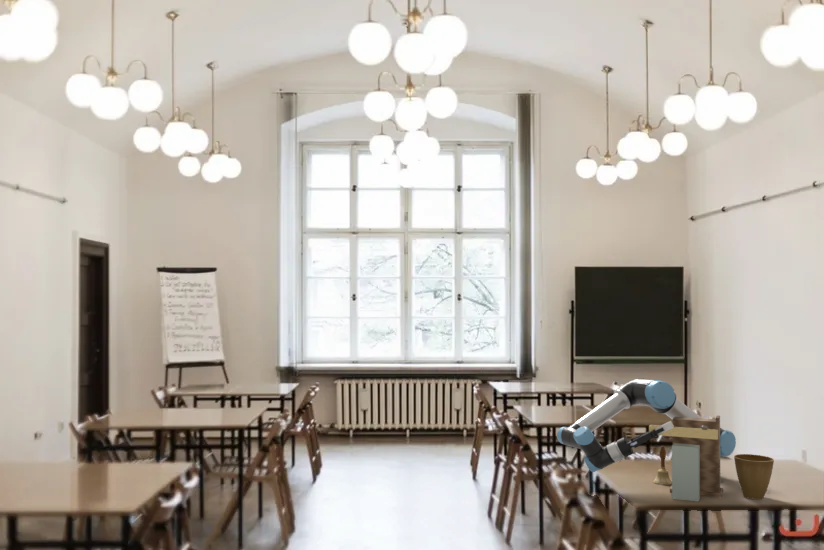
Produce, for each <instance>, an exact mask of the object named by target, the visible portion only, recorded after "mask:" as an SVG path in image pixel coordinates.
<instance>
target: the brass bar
mask: <svg viewBox="0 0 824 550" xmlns="http://www.w3.org/2000/svg"><path fill="white" fill-rule="evenodd" d="M660 426H661V425H658V424H650V425H648V431H649V432H651V431H653V430H655V429H656V428H658V427H660ZM672 427H673V428H672V429H670V430H668V431H666V432H664V433H662V434H660V435H658V434H657V435H658V436H664V437H666V436H667V437H673V436H676V437H689V438H702V439H715V440H717V439H718V430H717V429H707V426H701V428H688V427H674V426H672ZM655 431H656V430H655Z"/></svg>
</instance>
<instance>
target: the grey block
mask: <svg viewBox="0 0 824 550" xmlns="http://www.w3.org/2000/svg"><path fill="white" fill-rule="evenodd" d="M671 481H672V484H671V486H672V493H671V499H672V500H679V501H680V500H681V501H691V502H699V501H700V498H701V495H700V445H692V444H678V443H674V444H673V443H672V445H671Z"/></svg>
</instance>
